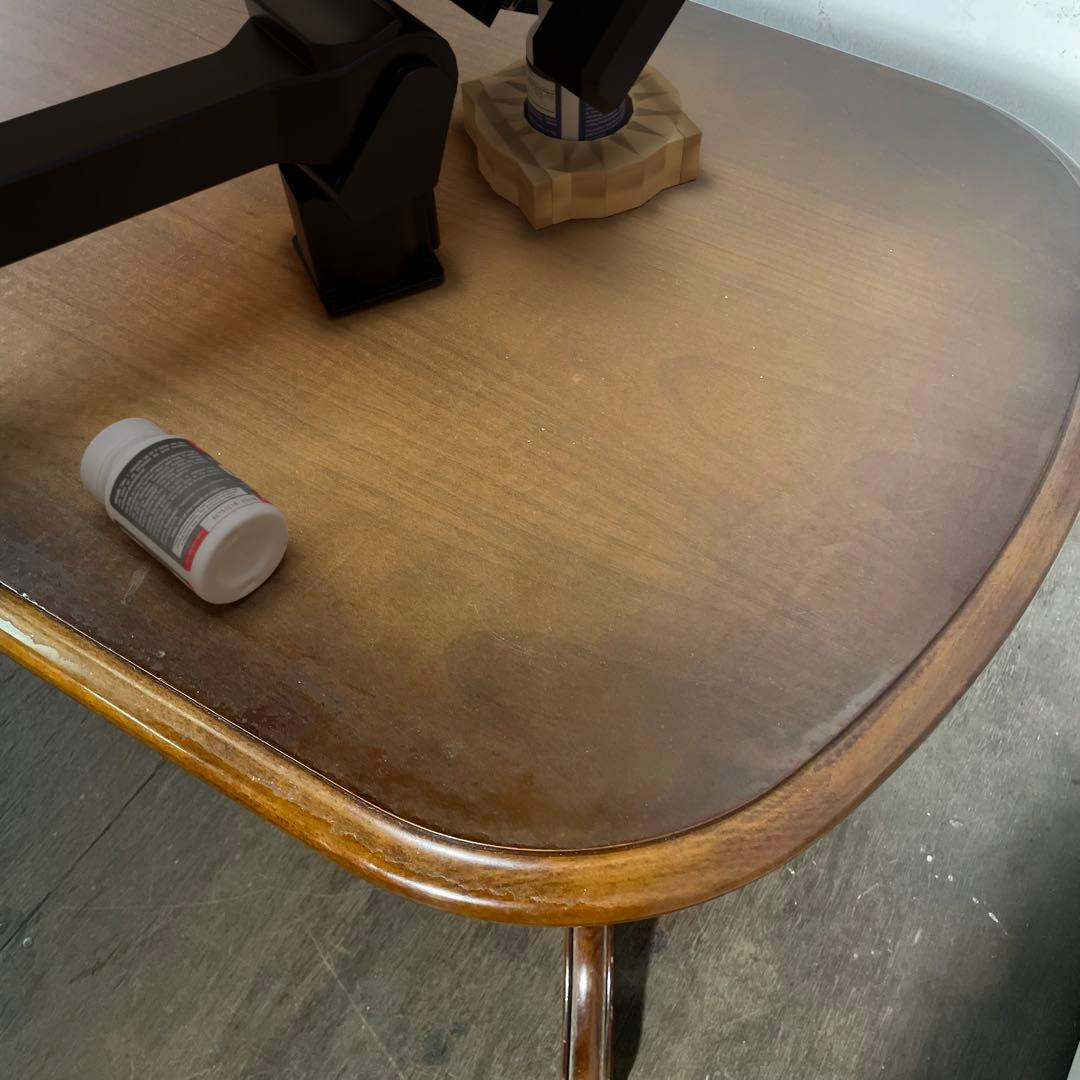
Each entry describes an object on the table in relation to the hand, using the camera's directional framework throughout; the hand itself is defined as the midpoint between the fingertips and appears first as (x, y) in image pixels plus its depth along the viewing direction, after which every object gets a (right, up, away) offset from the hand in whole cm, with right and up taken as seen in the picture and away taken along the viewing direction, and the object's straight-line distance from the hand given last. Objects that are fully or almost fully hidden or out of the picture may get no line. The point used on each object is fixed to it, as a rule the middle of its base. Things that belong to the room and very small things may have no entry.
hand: (598, 34), depth 56 cm
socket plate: (-1, -4, +5) cm, 7 cm away
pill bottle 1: (-15, -28, -13) cm, 34 cm away
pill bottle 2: (-1, -5, +5) cm, 7 cm away
